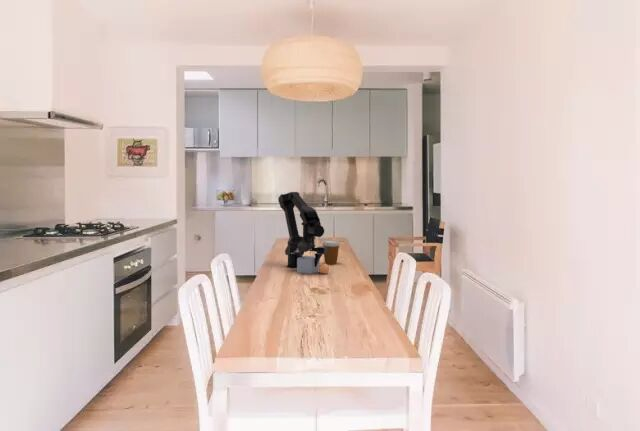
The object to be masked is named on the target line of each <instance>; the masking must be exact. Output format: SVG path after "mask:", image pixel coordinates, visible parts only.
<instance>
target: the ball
mask: <svg viewBox="0 0 640 431" xmlns="http://www.w3.org/2000/svg"><path fill="white" fill-rule="evenodd" d="M329 270H330V266H329V265H328V264H325V262H324V263H320V265H319V271H318V272H319V273H320V274H323V275H324V274H328V272H329Z"/></svg>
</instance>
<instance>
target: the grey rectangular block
mask: <svg viewBox="0 0 640 431" xmlns="http://www.w3.org/2000/svg"><path fill="white" fill-rule="evenodd" d="M320 262H321V261H320V260H319V262H318V265H317V267H315V255H303V257H300V258H297V268H296V273H297V274H309V275H312V274H314V273H316V272H320V271H319V266H320V265H321V263H320Z"/></svg>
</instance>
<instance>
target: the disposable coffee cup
mask: <svg viewBox="0 0 640 431" xmlns="http://www.w3.org/2000/svg"><path fill="white" fill-rule="evenodd" d="M340 245H341V243H340V241H339V240H323V241H322V245H321V246H324V247H327V248H328V252H327V253H324V254H323V257H324V263H325V264H327V265H328V266H329V265H331V266H332V265H337V262H338V256H339V249H340Z"/></svg>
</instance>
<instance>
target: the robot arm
mask: <svg viewBox="0 0 640 431" xmlns="http://www.w3.org/2000/svg"><path fill="white" fill-rule="evenodd" d="M277 198H278V199H277V200H278V203H279V208H281V210H282V211H284V215H285V221H286V224H287V225H286V226H287V231H288V235H289V236H288V237H289V238H288V240H287V246H286V247H285V250H284V255H286V256H287V265H286V267H287V268H296V269H297V258H300V257H303V256H305V255H304V254H305V253H306V252H315V253H314V256H315V267H317V265H318V262H319V260H320V259H321V257H322V256H323V255H324V253H327V252H328V248H327V247H324V246H323V245H321V246H316V244H315V240H316V238H321V237H323V235H324V233H325V229H324V226H322V225H321V219H320V217H319V215H318V212H317V211H316V209H315V208H313V207H312V206H309V205H308V204H307V203H306V202H305V200H304V199H303V198H302V196H301V195H300V193H299V192H298V191H290V192H288V193H282V194H280V195H279V196H278V197H277ZM295 207H296V209H297V210H298V211H299V217H300V219H301V221H302V222H301V223H300V224H301V226H302V236H301V235H299V234H300V233H299V230H298V224H297V220H296V215H295V211H294V208H295Z"/></svg>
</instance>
